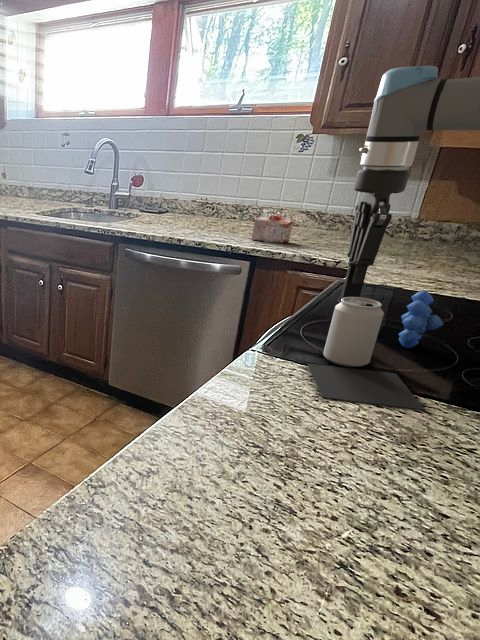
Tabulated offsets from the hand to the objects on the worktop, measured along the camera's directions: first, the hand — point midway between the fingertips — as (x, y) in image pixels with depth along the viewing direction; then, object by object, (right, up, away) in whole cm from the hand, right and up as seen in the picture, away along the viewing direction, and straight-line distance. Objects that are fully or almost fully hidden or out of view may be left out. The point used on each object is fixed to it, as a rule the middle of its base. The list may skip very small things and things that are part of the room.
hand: (349, 298), depth 101 cm
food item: (+38, +34, +103) cm, 114 cm away
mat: (-6, -16, -11) cm, 21 cm away
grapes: (+15, -10, +3) cm, 18 cm away
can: (-2, -12, -2) cm, 13 cm away
